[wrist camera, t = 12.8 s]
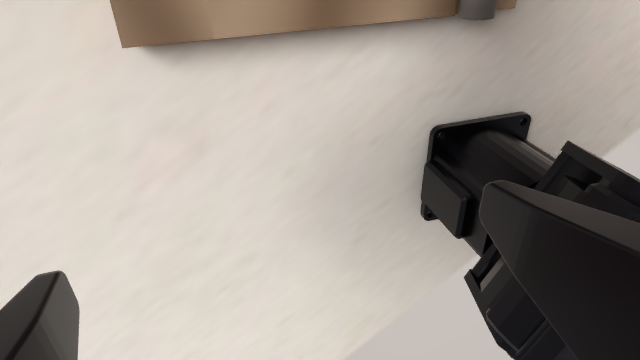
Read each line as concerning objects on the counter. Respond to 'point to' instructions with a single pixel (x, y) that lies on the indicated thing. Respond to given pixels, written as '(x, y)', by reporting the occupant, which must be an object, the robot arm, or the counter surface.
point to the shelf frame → (273, 16)
